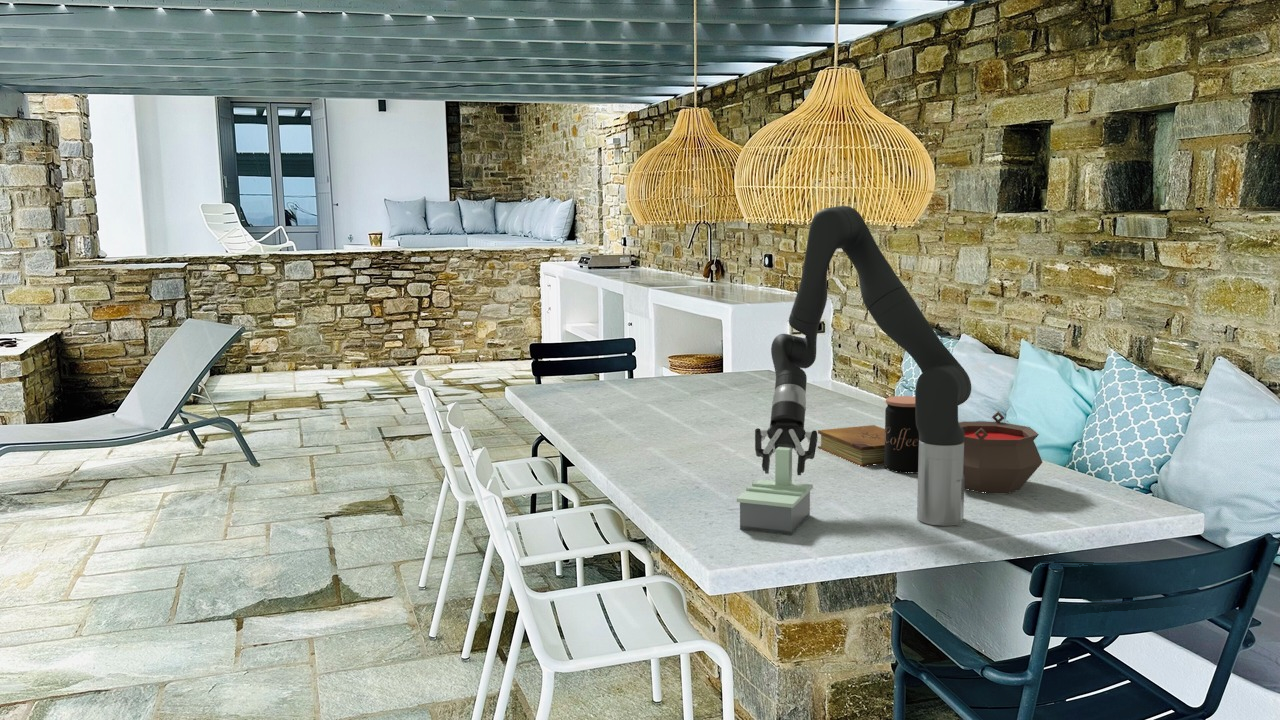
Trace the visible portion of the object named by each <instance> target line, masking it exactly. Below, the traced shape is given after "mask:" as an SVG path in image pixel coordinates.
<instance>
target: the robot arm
mask: <svg viewBox="0 0 1280 720" xmlns="http://www.w3.org/2000/svg"><path fill="white" fill-rule="evenodd" d="M838 249H841V250H842V251H843V252H844V253H845V255H846V256H847V257H848V259H849V261H850V262H851V263H852V264H853V267H854V268H855V270H856V273H857V275H858V280H859V287H860V288H859V289H860V294H861V298H862V302H863V304H864V306H865V307H866V309H867V311H868V313H869V314H870V315H871V317H872V318H873V321H875V323H876V324H877V326H878V328H880V330H881V331H882V332H883V333H884V334H885V335H886V336H887V337H888V338H890V339H891V340H892V341H893V342H894V343H896V345H898V346H899V347H901V348H902V349H903V350H904V351H905V352H906V353H907V354H908V355H909V356H910V357H911V358H912V359H913V361H914V362H915V363H916V364H917V366H918V368H919V369H920V370H921V372H922V373H921V374H920V375H919V377H918V379H917V380H916V385H915V391H914V395H915V396H914V397H915V414H916V426H917V429H918V432H919V456H918V473H917V504H916V505H917V508H916V518H917V520H918V521H920V522H921V523H924V524H927V525H933V526H942V527H943V526H944V527H945V526H946V527H947V526H949V527H950V526H961V525H962V522H963V520H964V511H965V510H964V508H965V489H964V482H965V476H964V475H963V469H964V438H965V433H964V429H963V428H962V427H960V425H959V406H961V405H962V404H964V403H965V402H967V400H969V398H970V397H971V394H972V382H971V378H970V376H969V374H968V372H967V371H966V370H965V368H964V366H962V365H961V363H959V361H958V360H957V359H956V358H955V357H954V355H953V354H952V352H950V350H949V349H948V348H947V347H946V345H945V344H944V343H943V342H942V341H941V340H940V338H939V337H938V335H937V334H936V332H935V330H934V329H933V327H932V326H931V324H930V323H929V321H928V320H927V318H926V316H925V315H924V313H923V312H922V311H921V309H920V308H919V306H918V304H917V302H916V301H915V300H914V298H913V297H912V295H911V294H910V291H908V289H907V287H906V286H905V285H904V283H903V282H902V281H901V280H900V278H899V277H898V276H897V274H896V272H895V271H894V269H893V268H892V266H891V265H890V263H889V262H888V260H887V258H886V257H885V256H884V255H883V253H882V251H881V250H880V247H879V246H878V244H877V241H876V240H875V239H874V236H873V235H872V232H871V231H870V229H869V227H868V224H866V222H865V220H864V218H863V217H862V215H861V214H860V212H858V210H856V209H855V208H853V207H851V206H847V205H840V206H833V207H832V206H831V207H826V208H822V209H820V210H819V211H817V212H816V213H815V214H814V215H813V218H812V219H811V222H810V224H809V231H808V236H807V243H806V249H805V255H804V262H803V268H802V272H801V279H800V282H799V287H798V289H797V293H796V296H795V299H794V302H793V305H792V308H791V311H790V314H789V317H788V324H789V326H790V328H792V329H794V330H795V331H797V332H799V333H801V334H802V335H805V337H800V336H796V335H792V334H787V333H780V334H778V335H776V336H775V337H774V339H773V341H772V343H771V348H770V349H771V350H770V352H771V359H772V363H773V367H774V374H775V384H774V392H773V395H772V404H771V413H770V422H769V426H768V429H767V430H761V429H760V428H755V430H754V449H755V450H754V451H755V455H756V457H758V458H760V457H761V458H762V461H761V467H762V472H764V474H765V475H766V474H767V475H768V474H769V473H770V466H771V465H770V464H771V457H772V455H773V454H775V449H776V448H778V447H788V448H792V451H793V450H794V451H795V454H796V455H797V456H798V457H797V465H796V466H797V468H796V469H797V470H796V474H797V476H802V474H803V473H804V472H805V468H806V466H805V465H806V460H808V459H809V460H814V459H815V455H816V449H817V445H818V444H817V443H818V430H817V431H816V430H814V429H813V430H812V431H811V432H810V431H806V430H805V420H806V418H805V417H806V409H807V405H806V403H807V397H806V396H807V395H806V393H807V390H806V389H807V380H808V378H807V376H808V375H807V374H806V372H805V370H804V369H808V368H810V367H811V366H812V365H813V364H814V363H815V361H816V359H817V340H818V332H819V326H820V323H821V320H822V317H823V316H824V315H823V314H824V311H825V308H826V305H827V302H828V281H827V279H828V270H829V266H830V263H831V260H832V258H833V256H834V254H835V253H836V251H837V250H838ZM766 437H768V438H769V441H768V442H767V446H766V447H764V449H763V446H762V442H763V441H764V440H765V439H766ZM805 438H806V439H807V442H808V443H809V444H808V448H807V450H804V448H803V446H802V444H801V443H802V441H804V439H805Z"/></svg>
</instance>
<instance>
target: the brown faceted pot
mask: <svg viewBox="0 0 1280 720" xmlns="http://www.w3.org/2000/svg"><path fill="white" fill-rule="evenodd" d="M997 417H999V419H998V418H997ZM991 418H992V419H993V420H994V421H960V422H959V421H958V423H959V425H960V427H962V428H963V429H964V433H965V438H964V469H963V475H964V476H965V482H964V488H965V489H969V490H968V491H970V490H974V491H978V492H984V493H983V494H988V493H1007V494H1010V493H1009V492H1011V493H1013V491H1014V492H1017V491H1019V489H1020V490H1021V489H1022V488H1023V486H1024V485H1025V484H1026V483H1027V482H1028V480H1030V478H1031V477H1032V476H1033V474H1034V473H1036V471H1037V470H1038V468H1040V466H1041V465H1042V464H1043V459H1042V458H1041V455H1040V452H1039V450H1038V447H1037V445H1036V443H1035V440H1036V439H1037V437H1038V436H1040V434H1039V433H1038V432H1036V430H1034V429H1033V428H1031V427H1030V426H1025V425H1020V424H1013V423H1008V422H1002V421H1003V420H1004V419H1005V417H1004V415H1002V413H1001V412H1000V411H999V410H998V411H997V412H996V413H994V414H993V415H992V416H991ZM965 489H964V490H965ZM1016 490H1017V491H1016ZM974 491H973V492H974ZM978 492H977V493H978ZM985 492H986V493H985Z"/></svg>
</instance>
